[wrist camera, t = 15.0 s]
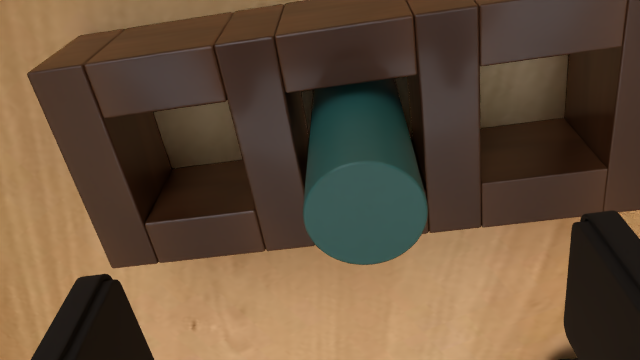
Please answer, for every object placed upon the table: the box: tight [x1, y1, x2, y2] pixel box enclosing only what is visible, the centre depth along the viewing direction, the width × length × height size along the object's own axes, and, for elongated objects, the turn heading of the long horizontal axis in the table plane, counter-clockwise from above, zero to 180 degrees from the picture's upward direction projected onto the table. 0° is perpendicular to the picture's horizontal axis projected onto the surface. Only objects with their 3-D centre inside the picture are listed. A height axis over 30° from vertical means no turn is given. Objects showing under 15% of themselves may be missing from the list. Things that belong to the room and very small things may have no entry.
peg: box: [303, 78, 428, 265], centre depth 18 cm, size 3×3×8 cm
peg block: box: [27, 0, 640, 268], centre depth 19 cm, size 19×8×4 cm, turn 99°
